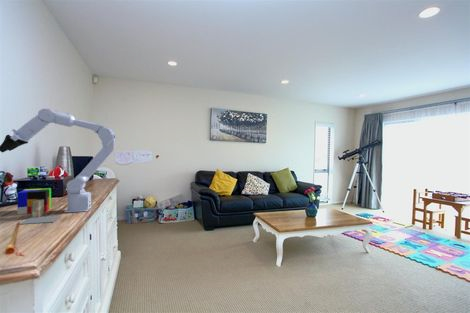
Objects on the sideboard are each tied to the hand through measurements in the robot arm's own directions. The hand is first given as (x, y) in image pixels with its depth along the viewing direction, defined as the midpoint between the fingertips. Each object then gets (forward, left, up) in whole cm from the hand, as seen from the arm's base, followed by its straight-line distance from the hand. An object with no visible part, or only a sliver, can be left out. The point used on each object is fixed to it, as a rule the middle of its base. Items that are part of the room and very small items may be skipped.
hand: (4, 150), depth 101 cm
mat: (-19, +13, -29) cm, 37 cm away
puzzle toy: (-9, -6, -29) cm, 31 cm away
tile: (-15, +6, -29) cm, 33 cm away
